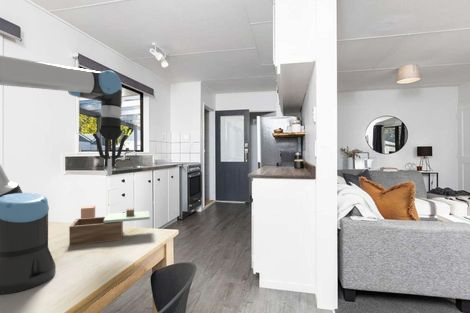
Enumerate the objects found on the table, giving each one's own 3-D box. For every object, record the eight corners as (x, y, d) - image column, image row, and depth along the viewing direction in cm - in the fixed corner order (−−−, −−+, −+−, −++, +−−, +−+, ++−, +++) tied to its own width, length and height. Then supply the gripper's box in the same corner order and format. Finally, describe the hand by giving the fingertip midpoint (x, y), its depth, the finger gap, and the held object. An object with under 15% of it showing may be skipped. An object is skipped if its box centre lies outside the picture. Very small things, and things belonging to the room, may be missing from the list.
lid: (149, 219, 107) (149, 210, 107) (103, 223, 101) (103, 214, 101) (148, 213, 118) (148, 205, 118) (106, 216, 111) (106, 208, 111)
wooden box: (121, 239, 103) (121, 222, 103) (69, 245, 96) (69, 226, 96) (122, 230, 114) (122, 215, 114) (76, 235, 108) (76, 218, 107)
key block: (93, 229, 116) (93, 207, 116) (80, 230, 114) (80, 208, 114) (95, 226, 120) (95, 205, 120) (83, 227, 119) (83, 206, 118)
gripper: (128, 119, 111) (127, 174, 110) (94, 117, 106) (93, 174, 106) (127, 117, 103) (126, 175, 103) (91, 115, 99) (90, 175, 99)
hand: (109, 174), depth 105 cm, fingers closed
